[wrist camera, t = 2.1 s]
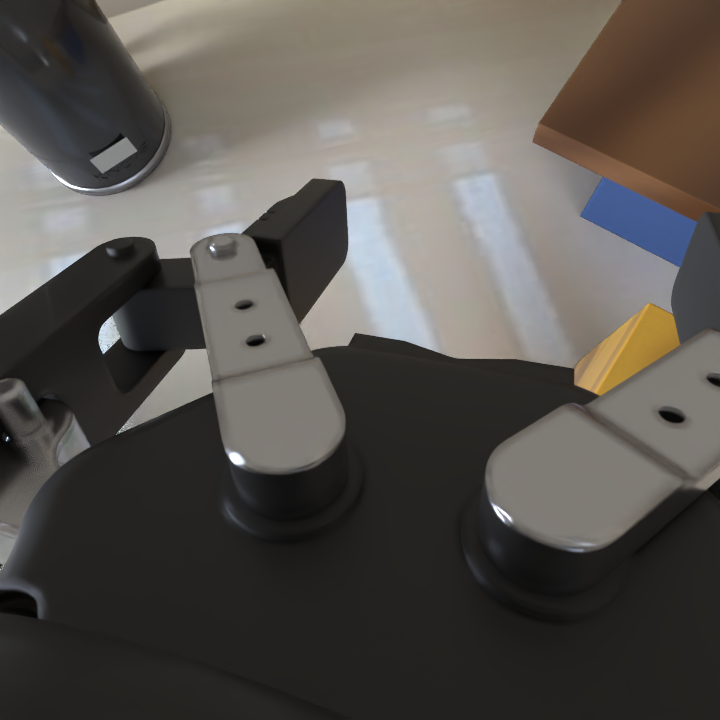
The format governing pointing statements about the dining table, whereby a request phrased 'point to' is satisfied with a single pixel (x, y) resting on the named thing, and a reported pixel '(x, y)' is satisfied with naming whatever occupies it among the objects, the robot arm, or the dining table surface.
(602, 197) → the blue box
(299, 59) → the dining table surface
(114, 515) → the robot arm
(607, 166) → the board
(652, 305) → the block
